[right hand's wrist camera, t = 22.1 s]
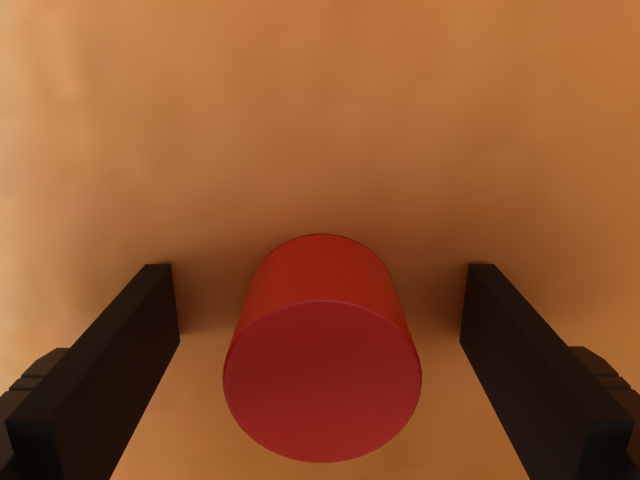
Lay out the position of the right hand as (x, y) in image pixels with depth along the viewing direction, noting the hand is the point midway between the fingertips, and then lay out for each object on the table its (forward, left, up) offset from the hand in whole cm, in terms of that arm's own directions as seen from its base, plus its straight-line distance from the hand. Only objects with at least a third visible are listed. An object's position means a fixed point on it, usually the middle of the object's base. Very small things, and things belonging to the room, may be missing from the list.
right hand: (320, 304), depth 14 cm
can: (0, 0, 0) cm, 0 cm away
